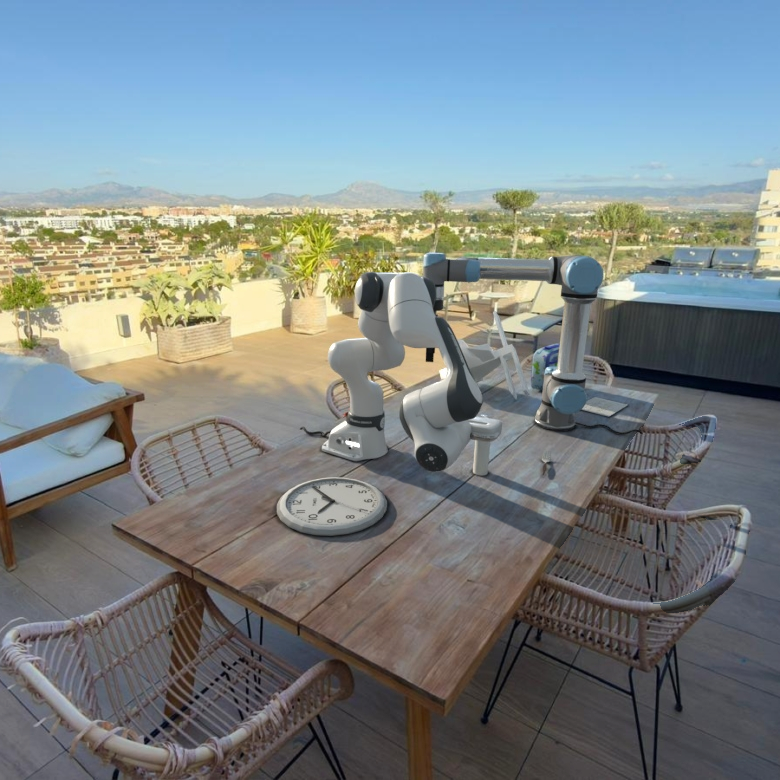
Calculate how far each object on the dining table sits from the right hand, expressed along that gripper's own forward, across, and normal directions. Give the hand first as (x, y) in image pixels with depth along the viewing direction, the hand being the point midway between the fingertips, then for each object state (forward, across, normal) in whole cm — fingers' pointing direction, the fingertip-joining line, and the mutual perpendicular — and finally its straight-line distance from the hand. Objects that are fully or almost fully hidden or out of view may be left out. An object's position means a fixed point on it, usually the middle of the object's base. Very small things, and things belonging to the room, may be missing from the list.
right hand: (430, 357), depth 190 cm
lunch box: (+28, -63, +56) cm, 89 cm away
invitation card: (+28, -38, +73) cm, 87 cm away
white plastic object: (+28, -50, +22) cm, 61 cm away
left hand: (+1, +56, +12) cm, 57 cm away
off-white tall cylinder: (+28, +34, +18) cm, 48 cm away
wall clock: (+28, +61, -23) cm, 71 cm away
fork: (+28, +27, +39) cm, 55 cm away
